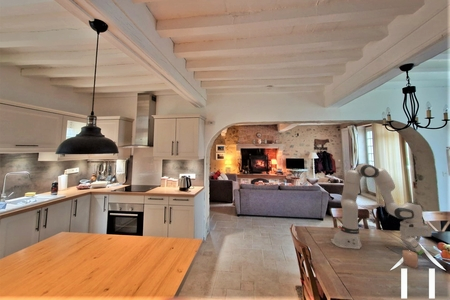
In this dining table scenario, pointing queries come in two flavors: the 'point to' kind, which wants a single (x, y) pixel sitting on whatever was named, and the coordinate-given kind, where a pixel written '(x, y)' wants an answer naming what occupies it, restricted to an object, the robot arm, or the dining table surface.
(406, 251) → the brown rounded lump
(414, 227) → the robot arm
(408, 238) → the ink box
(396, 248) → the mat
